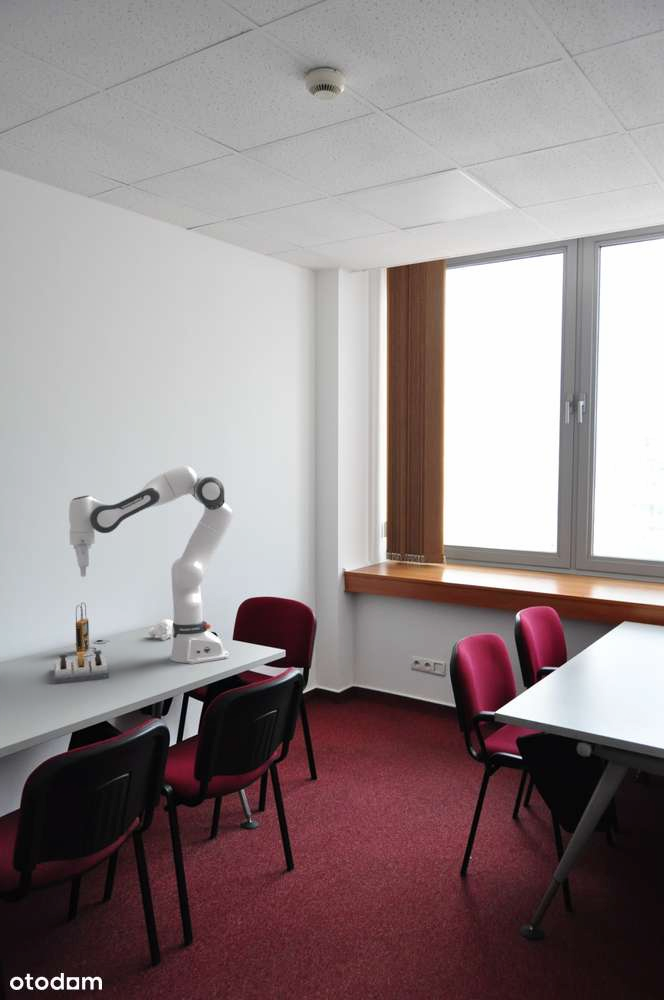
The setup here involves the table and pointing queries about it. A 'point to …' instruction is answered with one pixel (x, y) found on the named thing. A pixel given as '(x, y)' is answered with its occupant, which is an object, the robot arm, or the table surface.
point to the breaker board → (81, 670)
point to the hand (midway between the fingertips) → (83, 576)
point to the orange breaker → (80, 658)
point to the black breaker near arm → (97, 656)
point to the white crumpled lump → (162, 629)
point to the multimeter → (82, 634)
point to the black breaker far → (63, 660)
